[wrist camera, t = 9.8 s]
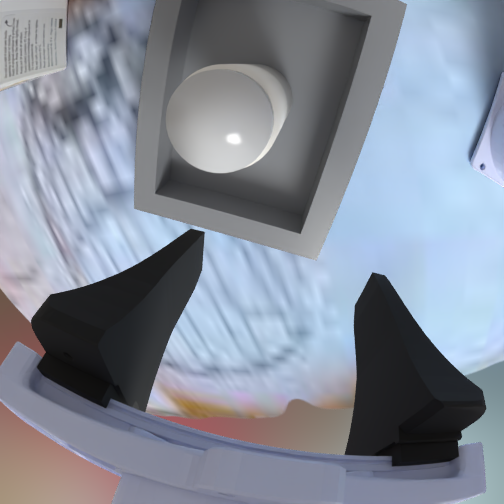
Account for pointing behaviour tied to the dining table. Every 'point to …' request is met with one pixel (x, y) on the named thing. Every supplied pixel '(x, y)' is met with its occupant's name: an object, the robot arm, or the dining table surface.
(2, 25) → the container
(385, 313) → the robot arm
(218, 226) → the tray
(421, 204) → the dining table surface
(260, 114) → the shaker
